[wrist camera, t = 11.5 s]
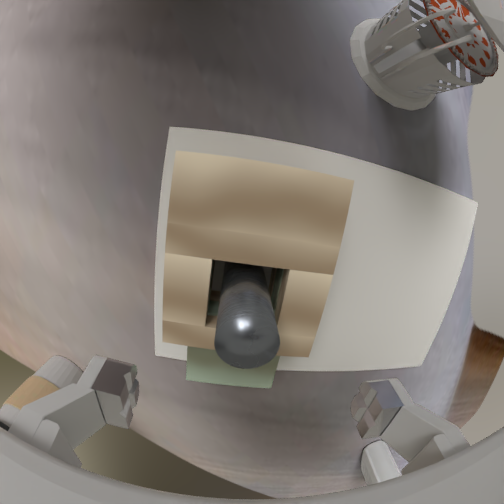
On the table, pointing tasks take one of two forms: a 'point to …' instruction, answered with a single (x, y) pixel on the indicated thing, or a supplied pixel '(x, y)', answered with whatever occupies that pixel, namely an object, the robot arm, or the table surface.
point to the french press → (428, 48)
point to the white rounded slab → (378, 463)
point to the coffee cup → (39, 387)
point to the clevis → (249, 253)
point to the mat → (354, 255)
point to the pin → (245, 318)
